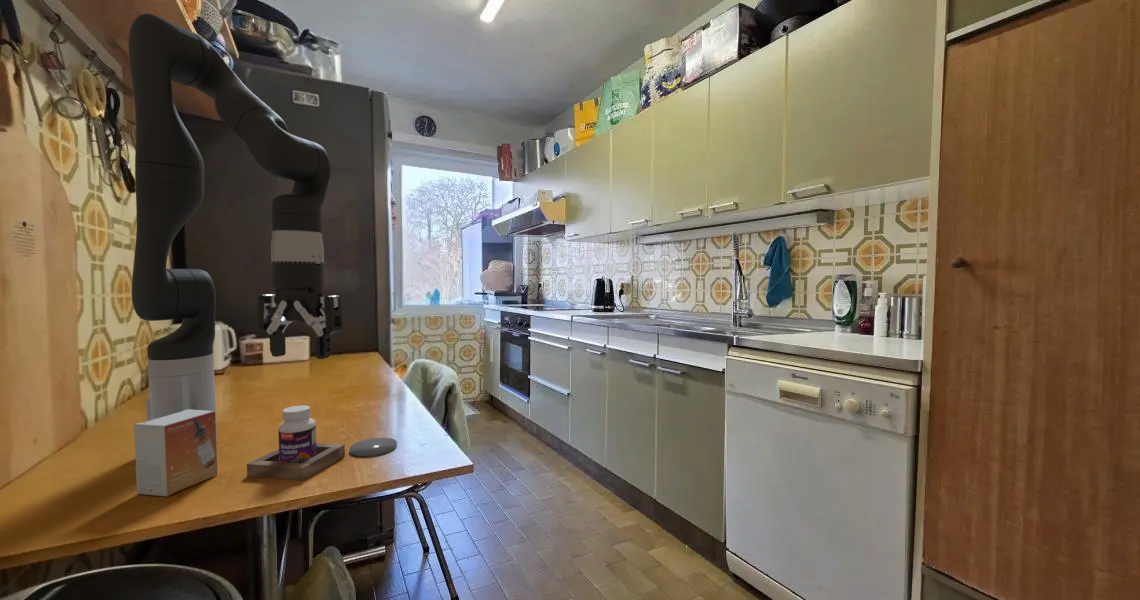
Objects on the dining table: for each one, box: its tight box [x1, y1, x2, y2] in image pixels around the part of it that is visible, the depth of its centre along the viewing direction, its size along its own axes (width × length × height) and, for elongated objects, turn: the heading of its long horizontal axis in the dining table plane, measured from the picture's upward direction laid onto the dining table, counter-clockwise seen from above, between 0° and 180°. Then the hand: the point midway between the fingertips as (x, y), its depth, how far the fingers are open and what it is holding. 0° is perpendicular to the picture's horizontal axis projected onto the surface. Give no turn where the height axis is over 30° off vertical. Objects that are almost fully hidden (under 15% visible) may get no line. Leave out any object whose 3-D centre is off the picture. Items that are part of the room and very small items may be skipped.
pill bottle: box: [278, 405, 317, 463], centre depth 77 cm, size 5×5×10 cm
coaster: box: [349, 437, 398, 458], centre depth 85 cm, size 8×8×1 cm
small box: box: [133, 409, 218, 497], centre depth 70 cm, size 8×6×10 cm
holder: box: [246, 442, 346, 481], centre depth 77 cm, size 10×10×2 cm
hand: (300, 357), depth 77 cm, fingers open, 8 cm apart
